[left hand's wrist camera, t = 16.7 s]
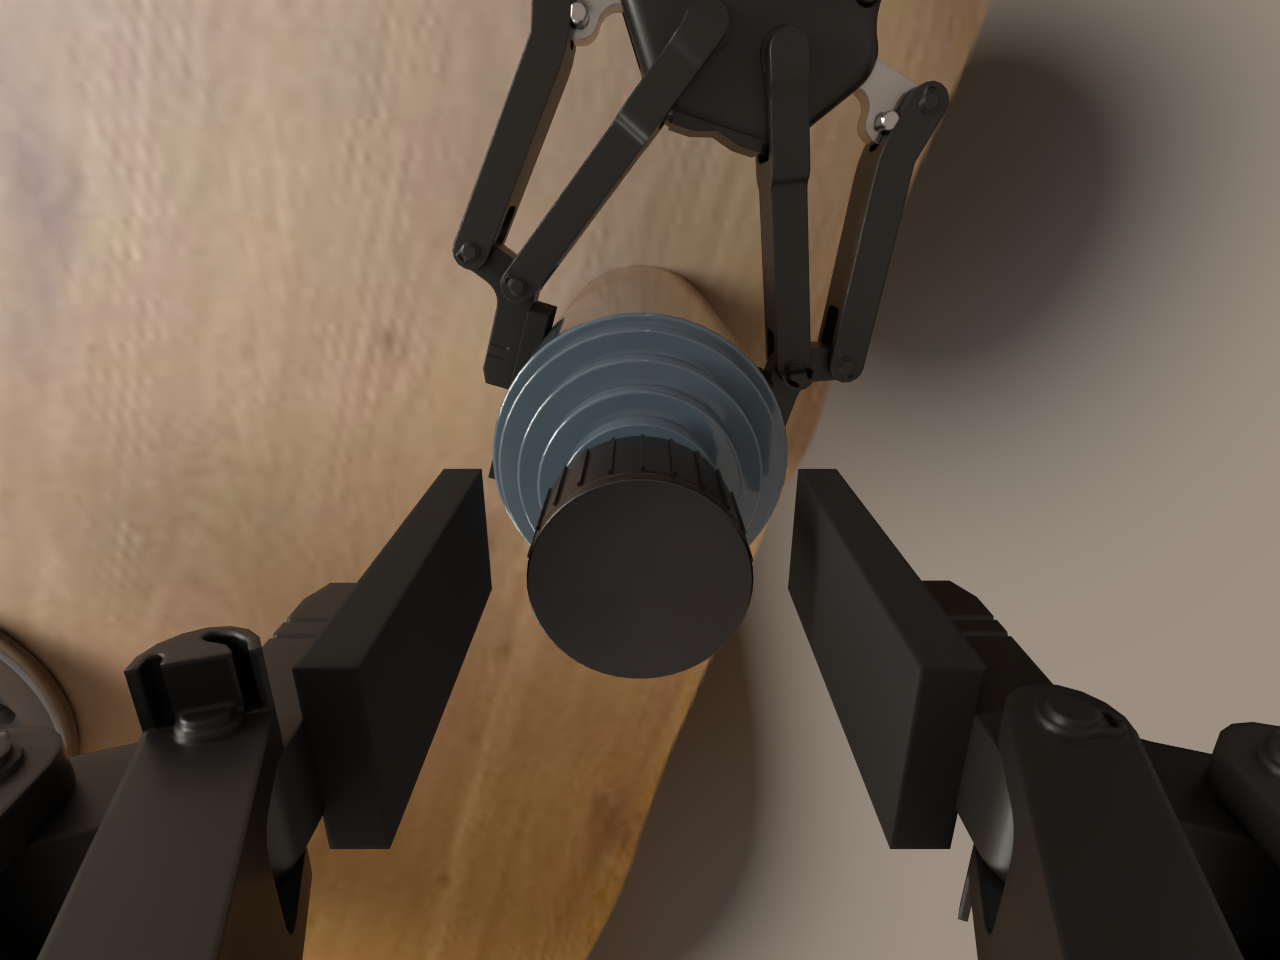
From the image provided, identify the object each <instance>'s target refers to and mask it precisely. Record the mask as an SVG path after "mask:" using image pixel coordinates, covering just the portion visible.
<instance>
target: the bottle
mask: <svg viewBox="0 0 1280 960" xmlns="http://www.w3.org/2000/svg"><path fill="white" fill-rule="evenodd" d="M640 434H645V436H650V437H657V438H663V439H666V440H669V439H670V438H671V439H674V442H676V443H679V444H681V445H683V446H686V447H688V448H689V449H691V450H693V451H694V452H695V451H696V450H697V451H699V452H700V455H701V456H702V457H703V458H704V459H706V460H707V461H708V462H709V463H710V464H711V465H712V466H713V467H714V468H715V469H719V470H720V472H721V475H722V478H723V480H724V482H725V484H726V486H727V487H728V489H729V492H732V491H733V493H734V496H735V499H736V502H737V505H738V508H739V511H740V514H741V517H742V520H743V523H744V526H745V529H746V532H747V534H745V536H746V539H747V542H748V545H749V546H750V544H751V543H752V542H753V541H754V540H755V538H756V537H757V536H758V535H759V534H760V532H761V531H762V530H763V528H764V526H765V525H766V523H767V522H768V520H769V519H770V517H771V515H772V513H773V511H774V509H775V507H776V504H777V502H778V500H779V497H780V494H781V491H782V487H783V484H784V479H785V473H786V467H787V438H786V429H785V425H784V421H783V417H782V413H781V409H780V407H779V405H778V402H777V400H776V397H775V395H774V392H773V391H772V389H771V387H770V386H769V384H768V382H767V381H766V379H765V377H764V376H763V374H762V373H761V372H760V370H759V369H758V368H757V366H756V365H755V364H754V362H753V361H752V360H751V358H750V357H749V356H748V354H747V353H746V352H745V350H744V349H743V348H742V346H741V345H740V344H739V342H738V341H737V340H736V338H735V337H734V336H733V334H732V333H731V332H730V330H729V329H728V328H727V326H726V325H725V324H724V322H723V321H722V320H721V318H720V317H719V316H718V315H717V313H716V312H715V311H714V309H713V308H712V307H711V305H710V304H709V303H708V301H707V300H706V299H705V297H704V296H703V295H702V294H701V292H700V291H698V290H697V289H696V288H695V287H694V286H693V285H692V284H691V283H689V282H688V281H687V280H685V279H684V278H682V277H680V276H678V275H677V274H675V273H672V272H670V271H667V270H664V269H661V268H656V267H650V266H629V267H624V268H619V269H616V270H613V271H610V272H608V273H606V274H604V275H602V276H599V277H598V278H596V279H595V280H593V281H592V282H590V283H589V284H588V285H587V286H586V287H585V288H584V289H582V290H581V291H580V293H579V294H578V295H577V296H576V297H575V299H574V300H573V301H572V302H571V304H570V305H569V306H568V308H567V309H566V310H565V312H564V313H563V314H562V316H561V317H560V318H559V320H558V321H557V322H556V324H555V325H554V326H553V328H552V329H551V330H550V332H549V333H548V334H547V336H546V337H545V338H544V340H543V341H542V342H541V344H540V345H539V346H538V348H537V349H536V350H535V352H534V353H533V354H532V355H531V357H530V358H529V359H528V361H527V362H526V363H525V365H524V366H523V367H522V369H521V370H520V371H519V373H518V374H517V376H516V378H515V379H514V381H513V382H512V384H511V385H510V387H509V389H508V391H507V393H506V395H505V397H504V400H503V402H502V404H501V407H500V410H499V413H498V417H497V420H496V424H495V430H494V437H493V466H494V474H495V480H496V483H497V487H498V491H499V494H500V497H501V500H502V502H503V504H504V507H505V509H506V511H507V513H508V515H509V517H510V518H511V520H512V522H513V523H514V525H515V527H516V528H517V530H518V531H519V532H520V533H521V535H522V536H523V537H524V539H525V540H526V541H527V542H528V543H529V545H530V546H531V542H532V539H533V536H534V533H535V530H536V529H535V528H536V524H537V521H538V518H539V515H540V512H541V509H542V506H543V503H544V500H545V497H546V494H547V491H548V489H549V487H550V488H552V487H553V485H554V484H555V482H556V480H557V479H558V477H559V476H560V474H561V471H562V468H563V467H564V466H565V465H566V466H568V465H569V464H570V463H571V462H572V461H573V460H574V459H576V458H577V457H578V456H580V455H581V454H583V453H584V449H586V448H588V449H591V448H593V447H594V446H596V445H599V444H601V443H604V442H606V441H609V440H611V438H613V437H615V439H618V438H622V437H631V436H640Z"/></svg>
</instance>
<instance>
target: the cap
mask: <svg viewBox="0 0 1280 960" xmlns="http://www.w3.org/2000/svg"><path fill="white" fill-rule="evenodd" d="M535 529H536V530H535V533H534V536H533V539H532V542H531V546H530V549H529V552H528V556H527V557H528V558H529V561H528V568H527V590H528V595H529V600H530V604H531V606H532V609H533V612H534V615H535V617H536V618H537V620H538V622H539V624H540V626H541V628H542V629H543V630H544V632H545V633H546V635H547V636H548V637H549V638H550V639H551V641H552V642H553V643H554V644H555V645H556V646H557V647H558V648H559V649H561V650H562V651H563V652H564V653H565V654H566V655H568V656H569V657H571V658H572V659H574V660H575V661H577V662H578V663H580V664H582V665H584V666H586V667H588V668H591V669H593V670H596V671H599V672H601V673H604V674H609V675H613V676H617V677H625V678H656V677H662V676H667V675H672V674H675V673H678V672H681V671H684V670H687V669H689V668H691V667H694V666H696V665H698V664H700V663H701V662H703V661H705V660H706V659H708V658H709V657H711V656H712V655H713V654H715V653H716V652H717V651H718V650H720V649H721V648H722V647H723V646H724V645H725V644H726V643H727V642H728V641H729V640H730V638H731V637H732V636H733V635H734V633H735V632H736V631H737V629H738V627H739V626H740V624H741V622H742V620H743V619H744V617H745V614H746V612H747V609H748V607H749V604H750V600H751V595H752V589H753V566H752V562H753V558H752V554H751V551H750V548H749V545H748V542H747V539H746V536H745V534H747V532H746V529H745V526H744V523H743V520H742V517H741V514H740V511H739V508H738V505H737V502H736V499H735V496H734V493H733V491H732V492H729V489H728V487H727V486H726V484H725V482H724V480H723V478H722V475H721V472H720V470H719V469H715V468H714V467H713V466H712V465H711V464H710V463H709V462H708V461H707V460H706V459H704V458H703V457H702V456H701V455H700V452H699V451H697V450H696V451H695V452H694V451H693V450H691V449H689V448H688V447H686V446H683V445H681V444H679V443H676V442H674V439H671V438H670V439H669V440H666V439H663V438H657V437H650V436H645V434H640V436H631V437H622V438H618V439H615V437H613V438H611V440H609V441H606V442H604V443H601V444H599V445H596V446H594V447H593V448H591V449H588V448H586V449H584V453H583V454H581V455H580V456H578V457H577V458H576V459H574V460H573V461H572V462H571V463H570V464H569V465H568V466H566V465H565V466H564V467H563V468H562V471H561V474H560V476H559V477H558V479H557V480H556V482H555V484H554V485H553V487H552V488H550V487H549V489H548V491H547V494H546V497H545V500H544V503H543V506H542V509H541V512H540V515H539V518H538V521H537V524H536V528H535Z"/></svg>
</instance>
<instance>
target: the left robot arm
mask: <svg viewBox="0 0 1280 960" xmlns="http://www.w3.org/2000/svg"><path fill="white" fill-rule="evenodd" d="M491 590H492V584H491V572H490V560H489V549H488V537H487V525H486V514H485V502H484V490H483V479H482V469H443V471H442V472H441V473H440V475H439V476H438V477H437V479H436V480H435V481H434V482H433V484H432V485H431V486H430V488H429V489H428V490H427V492H426V493H425V494H424V496H423V497H422V498H421V500H420V501H419V502H418V503H417V505H416V506H415V507H414V509H413V510H412V511H411V513H410V514H409V515H408V517H407V518H406V519H405V520H404V522H403V523H402V524H401V526H400V527H399V528H398V530H397V531H396V532H395V534H394V535H393V536H392V538H391V539H390V540H389V541H388V543H387V544H386V545H385V547H384V548H383V549H382V551H381V552H380V553H379V555H378V556H377V557H376V559H375V560H374V561H373V562H372V564H371V565H370V566H369V568H368V569H367V570H366V572H365V573H364V574H363V576H362V577H361V578H360V579H359V581H358V582H357V583H330V584H328V585H326V586H325V587H323V588H322V589H320V590H318V591H317V592H315V593H313V594H312V595H310V596H308V597H307V598H305V599H304V600H303V601H302V602H301V603H300V604H299V605H298V606H297V608H296V609H295V610H294V611H293V612H292V613H291V615H290V616H289V617H288V618H287V622H284V623H283V624H282V625H281V626H280V627H279V628H278V630H277V631H276V632H275V633H274V634H273V639H269V640H268V641H267V642H266V643H265V645H264V646H263V647H262V646H261V642H260V637H259V636H257V635H256V634H255V633H253V632H252V631H250V630H249V629H244V628H238V627H232V626H226V627H211V628H204V629H200V630H196V631H192V632H188V633H183V634H180V635H178V636H175V637H173V638H171V639H168V640H166V641H163V642H161V643H158V644H156V645H155V646H153V647H152V648H150V649H148V650H147V651H145V652H144V653H142V654H140V655H139V656H137V657H136V658H135V659H134V660H133V661H132V662H131V664H130V665H129V666H128V667H127V668H126V669H125V670H124V674H125V677H126V680H127V683H128V686H129V690H130V693H131V696H132V699H133V702H134V706H135V709H136V712H137V715H138V718H139V722H140V725H141V728H142V731H143V735H142V737H141V739H140V741H139V742H137V743H134V744H130V745H125V746H120V747H115V748H111V749H106V750H101V751H96V752H91V753H87V754H82V755H77V753H78V733H77V727H76V722H75V719H74V716H73V713H72V710H71V708H70V706H69V703H68V701H67V699H66V698H65V696H64V694H63V692H62V690H61V689H60V687H59V686H58V684H57V683H56V682H55V680H54V679H53V678H52V676H51V675H50V674H49V673H48V671H47V670H46V669H45V668H44V667H43V666H42V665H41V664H40V663H39V662H38V661H37V659H35V658H34V657H33V656H32V655H31V654H30V653H29V652H28V651H27V650H26V649H24V648H23V647H22V646H20V645H19V644H18V643H17V642H15V641H14V640H13V639H11V638H10V637H8V636H7V635H5V634H4V633H2V632H1V631H0V960H302V958H303V949H304V940H305V932H306V923H307V914H308V906H309V897H310V888H311V880H312V871H311V864H310V858H309V854H308V849H307V844H308V842H309V840H310V839H311V837H312V835H313V833H314V831H315V829H316V827H317V825H318V823H319V821H320V820H321V818H322V816H323V819H324V823H325V828H326V833H327V838H328V842H329V847H330V849H390V847H391V844H392V842H393V839H394V837H395V834H396V832H397V829H398V827H399V824H400V822H401V819H402V816H403V814H404V811H405V809H406V806H407V804H408V801H409V799H410V796H411V794H412V791H413V788H414V786H415V783H416V781H417V778H418V776H419V773H420V771H421V768H422V766H423V763H424V760H425V758H426V755H427V753H428V750H429V748H430V745H431V743H432V740H433V738H434V735H435V732H436V730H437V727H438V725H439V722H440V720H441V717H442V715H443V712H444V710H445V707H446V704H447V702H448V699H449V697H450V694H451V692H452V689H453V687H454V684H455V682H456V679H457V676H458V674H459V671H460V669H461V666H462V664H463V661H464V659H465V656H466V653H467V651H468V648H469V646H470V643H471V641H472V638H473V636H474V633H475V631H476V628H477V625H478V623H479V620H480V618H481V615H482V613H483V610H484V608H485V605H486V603H487V600H488V597H489V595H490V592H491ZM788 590H789V592H790V595H791V597H792V600H793V603H794V605H795V608H796V610H797V613H798V615H799V618H800V620H801V623H802V625H803V628H804V631H805V633H806V636H807V638H808V641H809V643H810V646H811V648H812V651H813V653H814V656H815V659H816V661H817V664H818V666H819V669H820V671H821V674H822V676H823V679H824V681H825V684H826V686H827V689H828V692H829V694H830V697H831V699H832V702H833V704H834V707H835V710H836V712H837V715H838V717H839V720H840V722H841V725H842V727H843V730H844V732H845V735H846V737H847V740H848V742H849V745H850V748H851V750H852V753H853V755H854V758H855V760H856V763H857V766H858V768H859V770H860V773H861V776H862V778H863V781H864V783H865V786H866V788H867V791H868V793H869V796H870V799H871V801H872V804H873V806H874V809H875V811H876V814H877V816H878V819H879V822H880V824H881V827H882V829H883V832H884V834H885V837H886V839H887V842H888V844H889V847H890V849H950V847H951V842H952V838H953V833H954V828H955V823H956V819H957V814H959V816H960V818H961V820H962V822H963V823H964V825H965V827H966V829H967V831H968V833H969V835H970V837H971V839H972V841H973V842H974V845H973V849H972V854H971V858H970V863H969V867H968V872H967V876H966V881H965V885H964V889H963V894H962V898H961V902H960V908H959V915H958V919H960V920H963V921H968V918H969V914H970V909H971V906H972V912H973V921H974V930H975V938H976V947H977V956H978V960H1280V726H1274V725H1268V724H1262V723H1255V722H1247V723H1236V724H1231V725H1229V726H1228V727H1226V728H1225V729H1223V730H1222V731H1221V732H1220V734H1219V737H1218V739H1217V742H1216V745H1215V748H1214V750H1213V753H1212V754H1209V753H1204V752H1199V751H1194V750H1189V749H1185V748H1180V747H1175V746H1170V745H1165V744H1160V743H1156V742H1151V741H1147V740H1143V739H1140V738H1139V735H1138V733H1137V732H1136V730H1135V729H1134V728H1133V727H1132V725H1131V724H1130V723H1129V721H1128V720H1127V719H1126V717H1124V716H1123V715H1122V714H1120V713H1119V712H1118V711H1116V710H1115V709H1114V708H1112V707H1111V706H1109V705H1108V704H1107V703H1105V702H1103V701H1101V700H1099V699H1097V698H1094V697H1092V696H1090V695H1088V694H1086V693H1084V692H1081V691H1078V690H1074V689H1070V688H1067V687H1063V686H1059V685H1053V684H1052V683H1051V681H1050V680H1049V679H1048V678H1047V677H1046V676H1045V675H1044V673H1043V672H1042V671H1041V670H1040V669H1039V668H1038V667H1037V665H1036V664H1035V663H1034V662H1033V661H1032V660H1031V658H1030V657H1029V656H1028V655H1027V654H1026V653H1025V652H1024V651H1023V649H1022V648H1021V647H1020V646H1019V645H1018V644H1017V642H1016V641H1015V640H1014V639H1013V638H1012V637H1011V636H1008V635H1007V631H1006V630H1005V629H1004V628H1003V626H1002V625H1001V624H1000V623H999V622H998V621H997V620H994V618H993V617H994V616H993V615H992V614H991V613H990V612H989V610H988V609H987V608H986V607H985V606H984V605H983V604H982V602H981V601H980V600H979V599H978V598H977V597H976V596H974V595H973V594H971V593H969V592H968V591H966V590H964V589H963V588H961V587H959V586H958V585H956V584H954V583H953V582H951V581H921V579H920V578H919V577H918V576H917V574H916V573H915V572H914V570H913V569H912V568H911V566H910V565H909V564H908V562H907V561H906V560H905V559H904V557H903V556H902V555H901V553H900V552H899V551H898V549H897V548H896V547H895V545H894V544H893V543H892V541H891V540H890V539H889V538H888V536H887V535H886V534H885V532H884V531H883V530H882V528H881V527H880V526H879V524H878V523H877V522H876V520H875V519H874V518H873V517H872V515H871V514H870V513H869V511H868V510H867V509H866V507H865V506H864V505H863V503H862V502H861V501H860V500H859V498H858V497H857V496H856V494H855V493H854V492H853V490H852V489H851V488H850V486H849V485H848V484H847V483H846V481H845V480H844V479H843V477H842V476H841V475H840V473H839V472H838V471H837V470H836V469H798V479H797V490H796V502H795V514H794V526H793V537H792V549H791V560H790V572H789V584H788Z"/></svg>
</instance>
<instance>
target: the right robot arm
mask: <svg viewBox="0 0 1280 960" xmlns="http://www.w3.org/2000/svg"><path fill="white" fill-rule="evenodd" d="M880 3H881V0H532V4H531V32H530V35H529V37H528V40H527V43H526V46H525V48H524V51H523V54H522V57H521V59H520V62H519V65H518V68H517V70H516V73H515V76H514V79H513V81H512V84H511V87H510V90H509V92H508V95H507V98H506V101H505V103H504V106H503V109H502V112H501V115H500V117H499V120H498V123H497V126H496V128H495V131H494V134H493V137H492V139H491V142H490V145H489V148H488V150H487V153H486V156H485V159H484V161H483V164H482V167H481V170H480V172H479V175H478V178H477V181H476V183H475V186H474V189H473V192H472V194H471V197H470V200H469V203H468V205H467V208H466V211H465V214H464V216H463V219H462V222H461V225H460V227H459V230H458V233H457V236H456V238H455V241H454V244H453V255H454V258H455V260H456V261H457V263H458V264H459V265H460V266H462V267H463V268H465V269H469V270H472V271H473V272H474V273H476V274H477V275H478V276H480V277H481V278H483V279H484V280H485V281H487V282H488V283H489V284H490V285H491V286H492V288H493V289H494V290H495V293H496V296H497V309H496V313H495V318H494V322H493V327H492V331H491V336H490V340H489V345H488V349H487V354H486V359H485V363H484V368H483V370H484V376H485V381H486V383H488V384H491V385H495V386H498V387H502V388H505V389H509V387H510V385H511V384H512V382H513V381H514V379H515V378H516V376H517V374H518V373H519V371H520V370H521V369H522V367H523V366H524V365H525V363H526V362H527V361H528V359H529V358H530V357H531V355H532V354H533V353H534V352H535V350H536V349H537V348H538V346H539V345H540V344H541V342H542V341H543V340H544V338H545V337H546V336H547V334H548V333H549V332H550V330H551V329H552V326H553V322H554V318H555V314H556V310H557V307H556V306H553V305H550V304H546V303H543V302H540V301H538V297H539V293H540V290H542V289H543V286H544V285H545V283H546V282H547V281H548V279H549V278H550V277H551V275H552V274H553V273H554V271H555V270H556V269H557V267H558V266H559V265H560V263H561V262H562V261H563V259H564V258H565V257H566V255H567V254H568V253H569V251H570V250H571V249H572V247H573V246H574V244H575V243H576V242H577V240H578V239H579V238H580V236H581V235H582V234H583V232H584V231H585V230H586V228H587V227H588V226H589V224H590V223H591V222H592V220H593V219H594V218H595V216H596V215H597V214H598V212H599V211H600V210H601V208H602V207H603V205H604V204H605V203H606V201H607V200H608V199H609V197H610V196H611V195H612V193H613V192H614V191H615V189H616V188H617V187H618V185H619V184H620V183H621V181H622V180H623V179H624V177H625V176H626V175H627V173H628V172H629V171H630V169H631V168H632V166H633V165H634V164H635V162H636V161H637V160H638V158H639V157H640V156H641V154H642V153H643V152H644V151H645V149H646V148H647V147H648V146H649V145H650V143H651V142H652V141H653V139H654V138H655V137H656V135H657V134H658V133H659V131H660V130H661V128H662V127H663V126H664V124H665V125H667V126H668V127H669V130H670V131H673V132H676V133H679V134H682V135H685V136H688V137H711V138H714V139H715V140H717V141H718V142H720V143H721V144H722V145H724V146H725V147H727V148H728V149H730V150H731V151H733V152H736V153H739V154H742V155H746V156H749V157H754V156H756V176H757V184H758V188H759V197H760V220H761V243H762V266H763V289H764V312H765V336H766V358H767V363H766V366H765V369H764V370H763V369H762V368H760V367H757V368H758V369H759V370H760V372H761V373H762V374H763V376H764V377H765V379H766V381H767V382H768V384H769V386H770V387H771V389H772V391H773V392H774V395H775V397H776V400H777V402H778V405H779V407H780V409H781V413H782V417H783V421H784V425H785V426H786V423H787V421H788V418H789V416H790V413H791V410H792V408H793V405H794V403H795V400H796V397H797V395H798V393H799V391H800V390H803V389H806V388H807V387H808V386H810V385H811V384H812V382H815V381H826V380H838V381H840V382H851V381H853V380H855V379H856V378H857V377H859V376H860V375H861V372H862V370H863V368H864V364H865V359H866V356H867V352H868V348H869V344H870V339H871V335H872V331H873V328H874V323H875V319H876V315H877V311H878V307H879V303H880V299H881V295H882V291H883V287H884V283H885V279H886V275H887V271H888V267H889V263H890V259H891V255H892V251H893V247H894V243H895V239H896V235H897V231H898V227H899V223H900V219H901V215H902V211H903V207H904V203H905V199H906V195H907V191H908V187H909V183H910V179H911V175H912V171H913V167H914V163H915V161H916V160H917V158H918V156H919V155H920V153H921V151H922V150H923V148H924V146H925V145H926V143H927V141H928V140H929V138H930V137H931V135H932V133H933V132H934V130H935V128H936V127H937V125H938V123H939V122H940V120H941V118H942V117H943V115H944V113H945V112H946V109H947V107H948V104H949V95H948V92H947V89H946V88H945V87H944V86H943V85H942V84H941V83H939V82H936V81H929V82H925V83H923V84H921V85H919V84H916V83H915V82H913V81H912V80H910V79H909V78H907V77H905V76H904V75H902V74H901V73H899V72H898V71H896V70H894V69H893V68H891V67H890V66H888V65H887V64H885V63H884V62H882V61H880V60H879V59H877V56H878V40H877V16H878V10H879V6H880ZM618 12H621V13H622V14H623V17H624V20H625V23H626V27H627V30H628V33H629V36H630V40H631V43H632V46H633V49H634V53H635V56H636V59H637V62H638V66H639V69H640V72H641V75H642V80H641V81H640V83H639V84H638V85H637V87H636V88H635V90H634V91H633V92H632V94H631V95H630V97H629V98H628V99H627V101H626V102H625V104H624V105H623V106H622V108H621V110H620V111H619V113H618V115H617V116H616V118H615V120H614V121H613V123H612V124H611V126H610V127H609V128H608V130H607V131H606V133H605V134H604V135H603V137H602V138H601V140H600V141H599V142H598V144H597V145H596V147H595V148H594V149H593V151H592V152H591V153H590V155H589V156H588V158H587V159H586V160H585V162H584V163H583V165H582V166H581V167H580V169H579V170H578V172H577V173H576V174H575V176H574V177H573V179H572V180H571V181H570V183H569V184H568V185H567V187H566V188H565V190H564V191H563V192H562V194H561V195H560V197H559V198H558V199H557V201H556V202H555V204H554V205H553V206H552V208H551V209H550V210H549V212H548V213H547V215H546V216H545V217H544V219H543V220H542V222H541V223H540V224H539V226H538V227H537V229H536V230H535V231H534V233H533V234H532V235H531V237H530V238H529V240H528V241H527V242H526V244H525V245H524V247H523V248H522V249H521V251H520V252H519V254H518V255H517V254H516V253H514V252H513V251H512V250H510V249H509V248H508V247H506V246H505V245H504V243H505V241H506V238H507V236H508V233H509V230H510V228H511V225H512V223H513V220H514V218H515V215H516V212H517V210H518V207H519V205H520V202H521V200H522V197H523V194H524V192H525V189H526V187H527V184H528V181H529V179H530V176H531V174H532V171H533V169H534V166H535V163H536V161H537V158H538V156H539V153H540V150H541V148H542V145H543V143H544V140H545V138H546V135H547V132H548V130H549V127H550V125H551V122H552V120H553V117H554V114H555V112H556V109H557V107H558V104H559V101H560V99H561V96H562V94H563V91H564V89H565V86H566V83H567V81H568V78H569V75H570V72H571V69H572V65H573V60H574V55H575V50H576V46H586V45H589V44H591V43H592V42H593V41H594V40H595V39H596V37H597V36H598V33H599V30H600V27H601V24H602V22H603V21H604V19H605V18H606V17H607V16H608V15H610V14H612V13H618ZM852 93H853V94H854V95H855V96H856V97H857V98H858V100H859V102H860V105H861V115H860V118H859V122H858V129H857V131H858V135H859V137H860V139H861V140H862V141H863V142H864V143H865V144H866V146H865V148H864V149H863V152H862V155H861V157H860V160H859V162H858V165H857V169H856V173H855V176H854V180H853V185H852V189H851V194H850V198H849V203H848V207H847V212H846V216H845V221H844V225H843V230H842V234H841V239H840V243H839V248H838V252H837V257H836V261H835V266H834V270H833V275H832V279H831V284H830V288H829V293H828V297H827V302H826V306H825V310H824V315H823V319H822V324H821V328H820V333H819V337H818V342H810V299H809V251H808V202H807V184H808V179H809V175H810V127H811V126H812V125H814V124H815V123H816V122H817V121H819V120H820V119H821V118H822V117H824V116H825V115H826V114H827V113H828V112H830V111H831V110H832V109H833V108H835V107H836V106H837V105H838V104H840V103H841V102H842V101H843V100H845V99H846V98H847V97H848V96H850V95H851V94H852ZM537 301H538V302H537ZM489 478H493V479H495V474H494V466H493V460H492V464H491V468H490V472H489Z"/></svg>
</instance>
